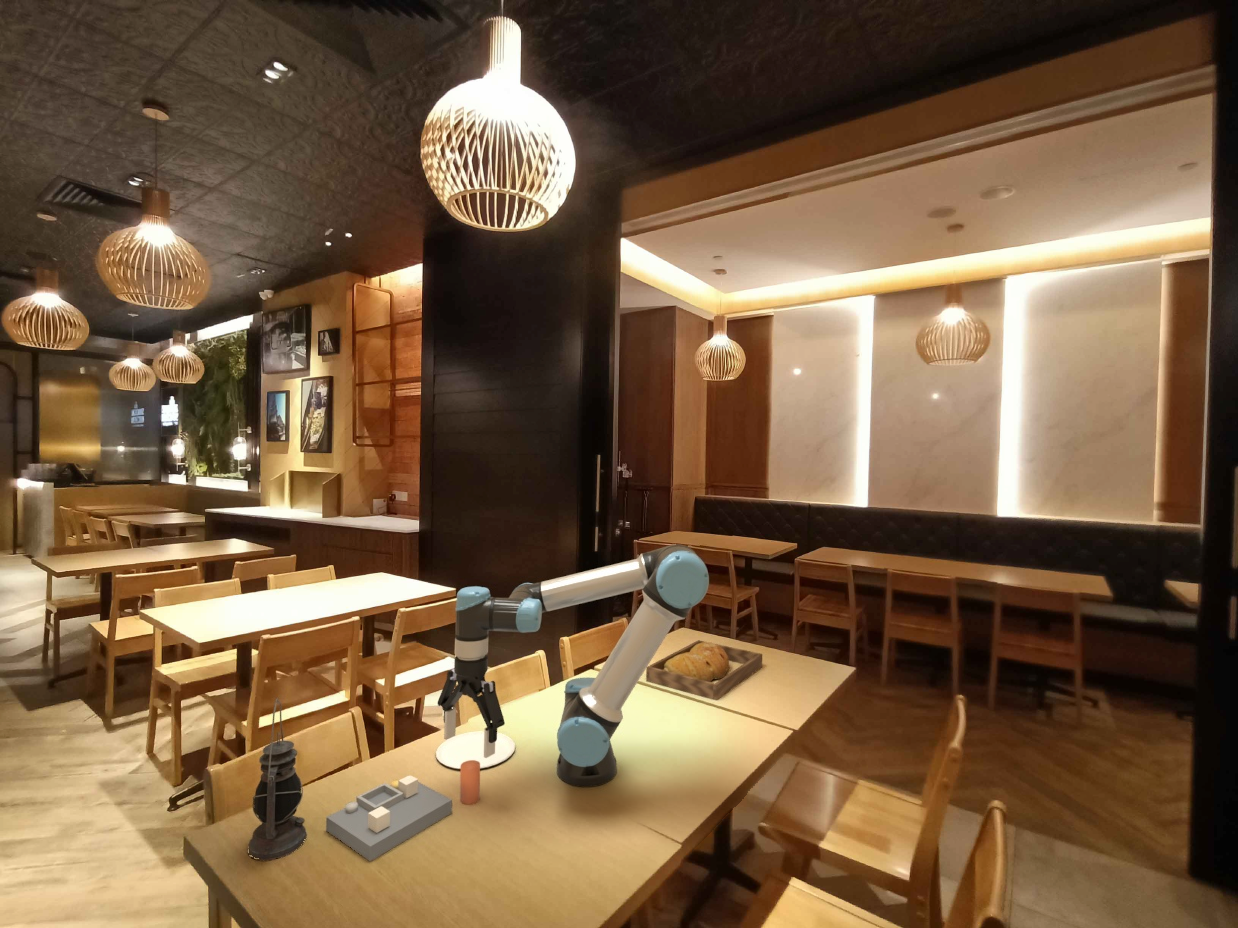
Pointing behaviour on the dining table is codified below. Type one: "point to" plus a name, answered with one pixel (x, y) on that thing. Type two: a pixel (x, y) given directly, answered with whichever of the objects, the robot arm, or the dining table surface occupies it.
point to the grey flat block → (404, 818)
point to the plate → (473, 750)
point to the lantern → (277, 802)
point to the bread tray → (701, 687)
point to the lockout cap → (470, 782)
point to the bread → (700, 662)
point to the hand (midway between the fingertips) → (469, 746)
